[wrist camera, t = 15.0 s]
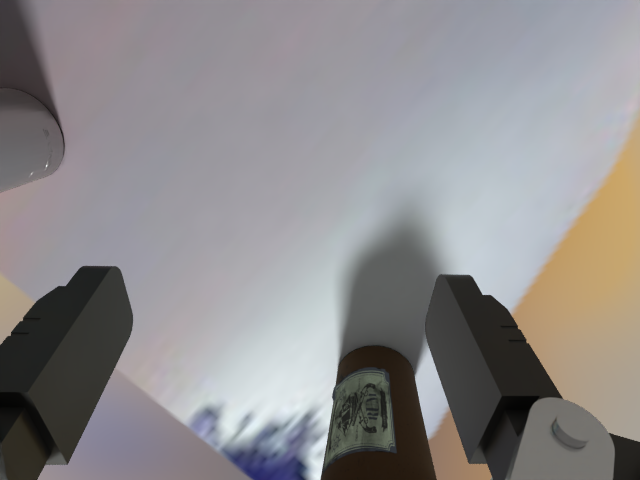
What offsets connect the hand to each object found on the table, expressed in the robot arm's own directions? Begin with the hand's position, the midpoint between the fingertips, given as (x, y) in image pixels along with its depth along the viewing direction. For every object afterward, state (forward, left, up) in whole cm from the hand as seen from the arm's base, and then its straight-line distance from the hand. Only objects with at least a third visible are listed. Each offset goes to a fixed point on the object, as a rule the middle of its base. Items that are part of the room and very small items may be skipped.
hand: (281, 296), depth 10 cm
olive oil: (+12, -28, -30) cm, 43 cm away
